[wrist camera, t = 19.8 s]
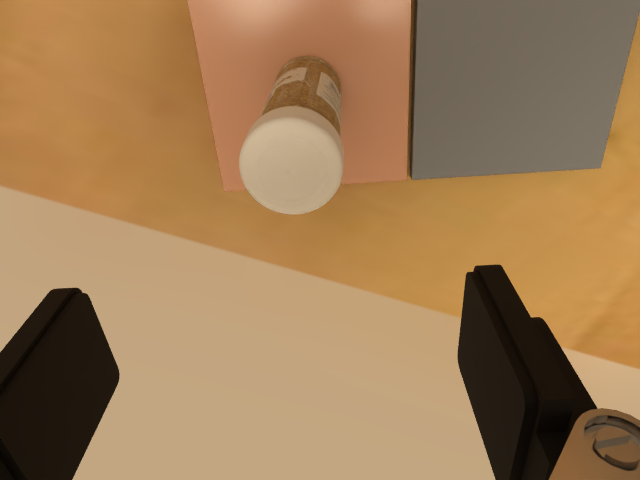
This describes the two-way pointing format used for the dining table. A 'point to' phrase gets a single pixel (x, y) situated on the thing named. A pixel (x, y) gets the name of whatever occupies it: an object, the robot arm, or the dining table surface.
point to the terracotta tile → (309, 40)
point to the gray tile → (515, 84)
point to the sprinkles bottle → (296, 140)
